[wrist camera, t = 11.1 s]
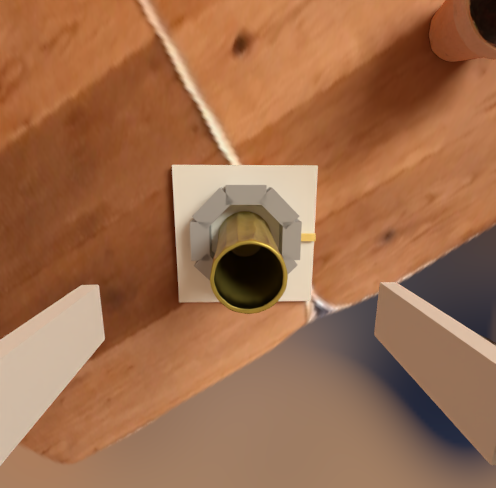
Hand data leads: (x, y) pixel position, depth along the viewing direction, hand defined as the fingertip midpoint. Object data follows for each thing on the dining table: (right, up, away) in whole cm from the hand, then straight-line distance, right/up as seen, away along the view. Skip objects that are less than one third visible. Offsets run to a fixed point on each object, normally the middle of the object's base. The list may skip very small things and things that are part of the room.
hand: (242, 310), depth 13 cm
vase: (0, +4, +20) cm, 20 cm away
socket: (0, +4, +20) cm, 21 cm away
